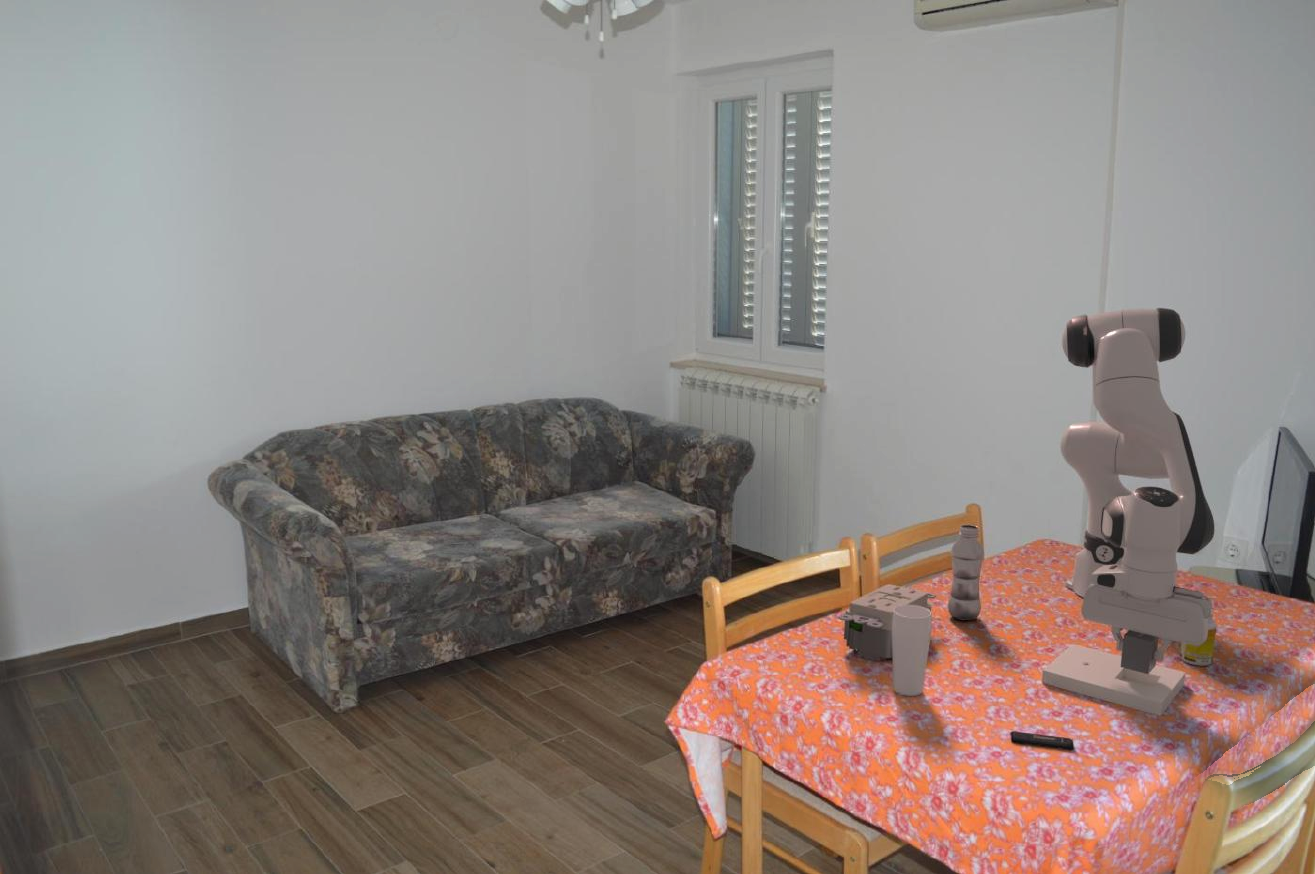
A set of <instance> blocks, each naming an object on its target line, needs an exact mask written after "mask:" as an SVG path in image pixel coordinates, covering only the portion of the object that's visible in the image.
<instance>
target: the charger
mask: <svg viewBox="0 0 1315 874" xmlns="http://www.w3.org/2000/svg"><path fill="white" fill-rule="evenodd" d="M1159 638H1160V637H1156V636H1151V635H1147V634H1143V633H1139V632H1135V631H1130V630H1127V631H1126V632H1125V634H1124V635H1123V648H1122V652H1121V656H1122V657H1121V667H1122V668H1126V669H1130V670H1134V671H1137V672H1141V673H1145V674H1149V673H1150V672H1151V671H1152V669H1153V668H1154V667H1155V666H1156V665H1157V664H1156V663H1157V661H1156V660H1153V659H1152V656H1153V650H1155V648H1158V646H1159Z"/></svg>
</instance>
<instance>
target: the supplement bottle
mask: <svg viewBox="0 0 1315 874" xmlns="http://www.w3.org/2000/svg"><path fill="white" fill-rule="evenodd" d="M1213 619H1214V612H1213V610H1211V614H1210V616H1209V617H1208V636H1207V639H1206V641H1205V642H1204V643H1203V644H1201V645H1199V646H1194V645H1189V644H1185V643H1181V642H1180V648H1179V649H1180V651H1179V658H1180V659H1181V660H1182V662H1185V663H1187V664H1190V665H1193V666H1201V667H1203V666H1209V665H1211V664H1212V663H1213V659H1214V651H1215V643H1216V642H1215V641H1216V634H1217V626H1218V625H1217V623H1216V622H1215V620H1213Z"/></svg>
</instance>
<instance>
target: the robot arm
mask: <svg viewBox="0 0 1315 874" xmlns="http://www.w3.org/2000/svg"><path fill="white" fill-rule="evenodd" d="M1185 341H1186V327H1185V325H1184V323H1183V320H1182V319H1181V316H1180V314H1179V313H1178V312H1177V311H1176V310H1174V309H1171V308H1164V307H1157V308H1156V309H1149V308H1134V309H1133V308H1132V309H1131V308H1129V309H1121V310H1117V311H1107V312H1101V313H1096V314H1094V313H1093V314H1091V315H1087V314H1083V315H1078V316H1075V317H1072V318H1070V320H1069V321H1068V322H1067V323H1066V326H1065V328H1064V331H1063V333H1062V340H1061V343H1062V345H1061V346H1062V350H1063V352H1064V355H1065V356H1066V358H1067V360H1068V362H1069V363H1070V364H1072V365H1073V366H1076V367H1079V368H1080V367H1081V368H1086V369H1087V368H1089V367H1092V368H1091V370H1092V395H1093V396H1092V397H1093V399H1092V401H1093V404H1094V407H1095V409H1096V410H1097V412H1098V414H1099V417H1100V418H1101V419H1102V420H1103V421H1104V422H1100V421H1087V422H1086V421H1085V422H1084V421H1083V422H1074V423H1072V424H1071V425H1070V426H1068V427H1067V428H1066V429H1065V431H1063V435H1062V436H1061V440H1060V453H1061V455H1062V458H1063V459H1064V460H1065V462H1066V464H1068V465H1069V466H1070V467H1071V468H1072V469H1073V470H1074V471H1075V472H1076V473H1077V475H1078V476H1079V477H1080V479H1081V481H1082V482H1083V485H1084V488H1085V490H1086V492H1087V500H1088V518H1087V529H1086V530H1085V532H1084V536H1083V547H1084V548H1083V549H1082V550H1080V551H1079V552H1077V553H1076V555H1075V562H1074V567H1073V568H1074V569H1073V574H1072V575H1073V576H1072V578H1071V579H1068V580H1065V584H1064V586H1065V587H1066V588H1068V589H1070V590H1072V591H1074V593H1076V595H1078V596H1079V597H1082V598H1083V599H1082V606H1081V616H1082V617H1083V618H1084V620H1086V621H1089V622H1093V623H1097V624H1101V625H1106V626H1109V627H1110V628H1111V629H1110V632H1111V634H1112V636H1113V638H1114V640H1115V642H1116V647H1115V650H1116V651H1118V652H1121V653H1122V648H1123V638H1124V636H1123V635H1122V631H1123V630H1127V631H1129V630H1130V631H1135V632H1139V633H1143V634H1147V635H1151V636H1156V637H1159V638H1160V643H1161V644H1162V647H1161V648H1155V650H1153V656H1152V659H1153V660H1156V662H1157V661H1158V662H1162V661H1163V660H1164V658H1165V651H1166V649H1168V648H1169V647H1170V646H1171V645H1172V643H1173V641H1174V642H1177V643H1180V644H1181V643H1185V644H1189V645H1194V646H1199V645H1201V644H1203V643H1204V642H1205V641H1206V639H1207V636H1208V617H1209V616H1210V614H1211V611H1212V607H1213V603H1212V600H1211V599H1210V598H1209V596H1208V595H1205V594H1204V592H1202V591H1198V590H1191V589H1187V588H1185V587H1179V586H1176V583H1177V573H1178V563H1177V553H1180V554H1188V555H1194V554H1197V553H1199V552H1200V551H1202V550H1203V549H1205V548H1206V546H1208V545H1209V544H1210V543H1211V542H1212V540H1213V539H1214V536H1215V520H1214V516H1213V512H1212V510H1211V508H1210V505H1209V503H1208V500H1207V498H1206V496H1205V494H1204V493H1205V492H1204V490H1203V486H1202V483H1201V478H1200V474H1199V472H1198V471H1199V470H1198V467H1197V463H1196V460H1195V456H1194V451H1193V448H1192V445H1191V440H1190V437H1189V434H1188V431H1187V428H1186V425H1185V423H1184V421H1183V419H1182V417H1181V415H1180V414H1178V413H1176V412H1175V411H1173V410H1172V409H1171V407H1169V405H1168V403H1167V402H1166V400H1165V398H1164V396H1163V393H1162V390H1161V383H1160V373H1159V372H1160V371H1159V367H1158V366H1159V365H1158V363H1163V362H1166V361H1170V360H1173V359H1176V357H1178V356H1179V355H1180V354H1181V352H1182V348H1183V347H1184V343H1185ZM1119 475H1121V476H1127V477H1135V478H1140V479H1141V478H1143V479H1149V480H1155V479H1158V480H1159V479H1169V483H1170V487H1171V490H1169V489H1165V488H1162V487H1158V486H1141V487H1138V488H1136V489H1134V490H1132V491H1131V490H1130V489H1128V488H1127V487H1125V486H1124V484H1123V483H1122V481H1121V480H1120V478H1119Z"/></svg>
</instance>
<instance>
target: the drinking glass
mask: <svg viewBox="0 0 1315 874" xmlns="http://www.w3.org/2000/svg"><path fill="white" fill-rule="evenodd" d="M932 614H933V613H932V610H931V611H930V610H929V609H927V608H925V607H922V606H917V605H899V606H896V607H895V608H894V609H893V615H892V657H891V659H892V689H893V690H894V692H896V693H897V694H899V695H902V696H906V697H916V696H920V695H921V694H922V693H923V691H924V686H925V685H924V684H925V676H926V668H927V662H928V656H929V649H930V643H931V635H932V623H933V622H932V621H933V620H932V616H933V615H932Z"/></svg>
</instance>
